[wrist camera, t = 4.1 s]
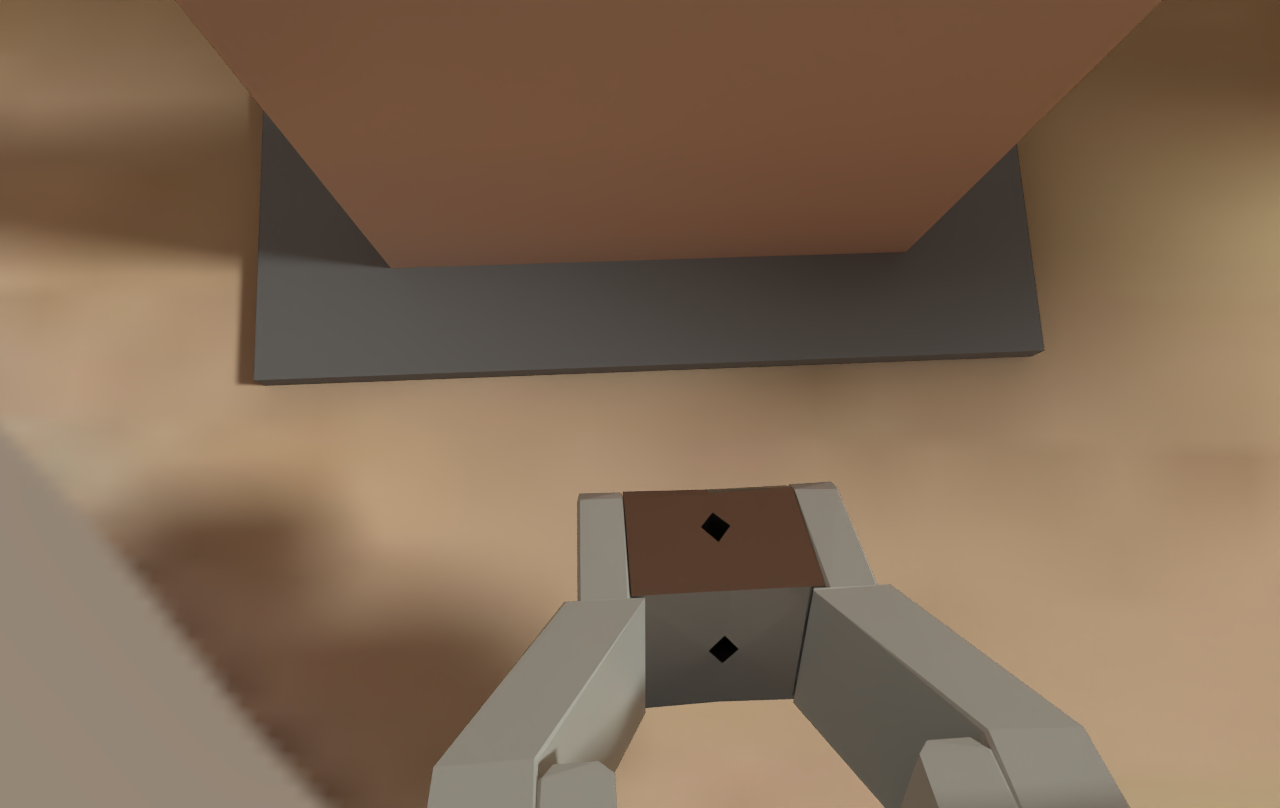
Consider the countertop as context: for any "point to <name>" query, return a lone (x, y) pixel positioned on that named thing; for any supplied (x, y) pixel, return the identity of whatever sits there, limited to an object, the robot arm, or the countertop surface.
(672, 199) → the tile
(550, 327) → the mat
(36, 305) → the countertop surface
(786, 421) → the countertop surface
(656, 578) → the robot arm
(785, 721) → the countertop surface
